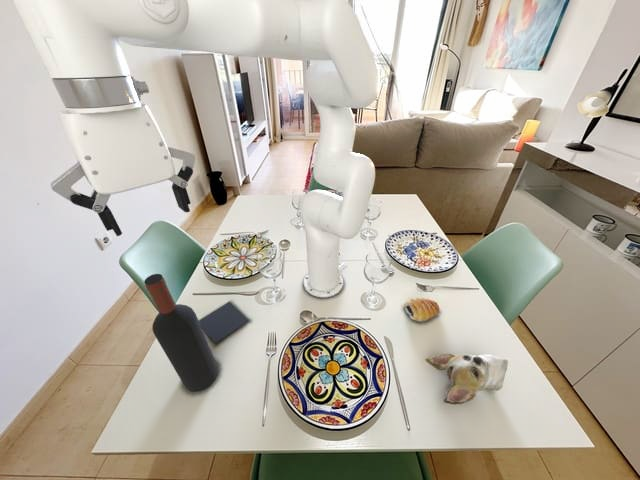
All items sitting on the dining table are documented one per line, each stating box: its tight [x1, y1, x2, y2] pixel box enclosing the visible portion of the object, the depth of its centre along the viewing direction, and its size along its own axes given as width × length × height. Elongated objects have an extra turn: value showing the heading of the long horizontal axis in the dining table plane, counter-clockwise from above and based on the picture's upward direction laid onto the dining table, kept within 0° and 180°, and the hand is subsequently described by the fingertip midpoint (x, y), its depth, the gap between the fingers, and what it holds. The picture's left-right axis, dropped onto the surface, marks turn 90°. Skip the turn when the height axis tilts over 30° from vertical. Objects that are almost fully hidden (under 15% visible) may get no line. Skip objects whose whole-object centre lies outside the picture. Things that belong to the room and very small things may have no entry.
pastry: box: [403, 297, 440, 323], centre depth 75 cm, size 9×7×4 cm
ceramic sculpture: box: [424, 353, 509, 405], centre depth 57 cm, size 11×9×15 cm
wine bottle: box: [143, 273, 219, 393], centre depth 54 cm, size 8×8×30 cm
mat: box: [198, 301, 250, 345], centre depth 74 cm, size 10×10×1 cm
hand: (153, 220), depth 42 cm, fingers open, 9 cm apart
